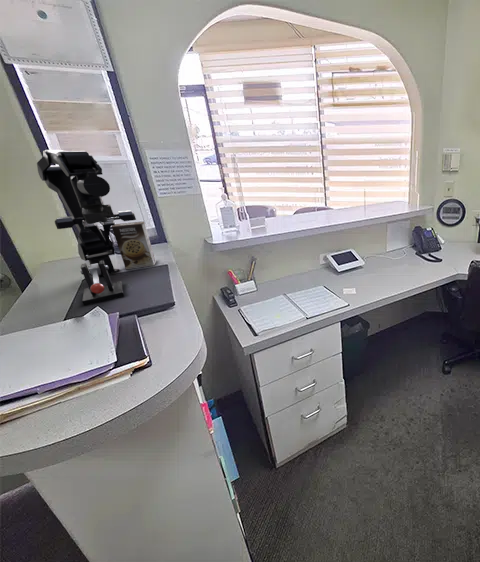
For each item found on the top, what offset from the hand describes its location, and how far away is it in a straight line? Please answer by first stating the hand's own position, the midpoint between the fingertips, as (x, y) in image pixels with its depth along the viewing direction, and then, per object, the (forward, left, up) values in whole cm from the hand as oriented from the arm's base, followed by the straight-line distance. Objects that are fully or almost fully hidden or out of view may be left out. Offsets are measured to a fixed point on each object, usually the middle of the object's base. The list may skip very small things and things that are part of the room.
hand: (107, 245), depth 99 cm
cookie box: (-9, +14, -12) cm, 21 cm away
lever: (+12, -13, -7) cm, 19 cm away
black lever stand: (+8, -10, -12) cm, 18 cm away
